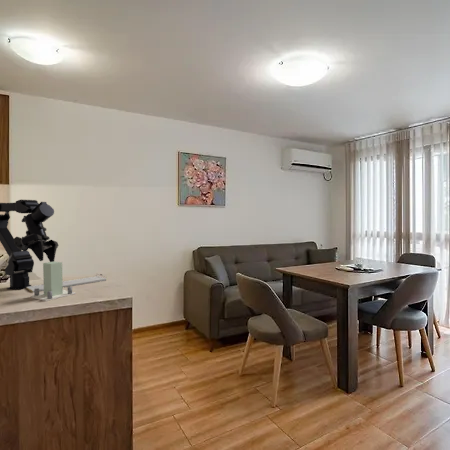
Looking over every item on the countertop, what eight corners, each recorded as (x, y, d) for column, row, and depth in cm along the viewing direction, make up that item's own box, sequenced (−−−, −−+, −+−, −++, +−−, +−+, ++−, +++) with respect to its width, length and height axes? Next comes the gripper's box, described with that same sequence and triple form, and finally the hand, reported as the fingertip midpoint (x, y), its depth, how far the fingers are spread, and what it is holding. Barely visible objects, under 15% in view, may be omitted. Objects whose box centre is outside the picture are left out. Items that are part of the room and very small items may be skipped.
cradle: (30, 297, 116) (30, 289, 116) (60, 290, 127) (60, 283, 127) (45, 301, 111) (45, 293, 111) (75, 293, 122) (75, 286, 122)
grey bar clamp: (24, 289, 132) (32, 294, 124) (24, 282, 132) (32, 287, 123) (95, 278, 154) (106, 281, 146) (95, 272, 154) (106, 275, 146)
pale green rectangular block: (43, 294, 118) (43, 263, 118) (55, 292, 122) (54, 261, 122) (51, 296, 116) (50, 264, 115) (62, 293, 120) (62, 262, 119)
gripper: (27, 238, 133) (38, 271, 130) (1, 230, 115) (13, 268, 112) (53, 229, 135) (64, 261, 132) (31, 219, 117) (43, 256, 114)
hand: (47, 261), depth 123 cm, fingers open, 9 cm apart
